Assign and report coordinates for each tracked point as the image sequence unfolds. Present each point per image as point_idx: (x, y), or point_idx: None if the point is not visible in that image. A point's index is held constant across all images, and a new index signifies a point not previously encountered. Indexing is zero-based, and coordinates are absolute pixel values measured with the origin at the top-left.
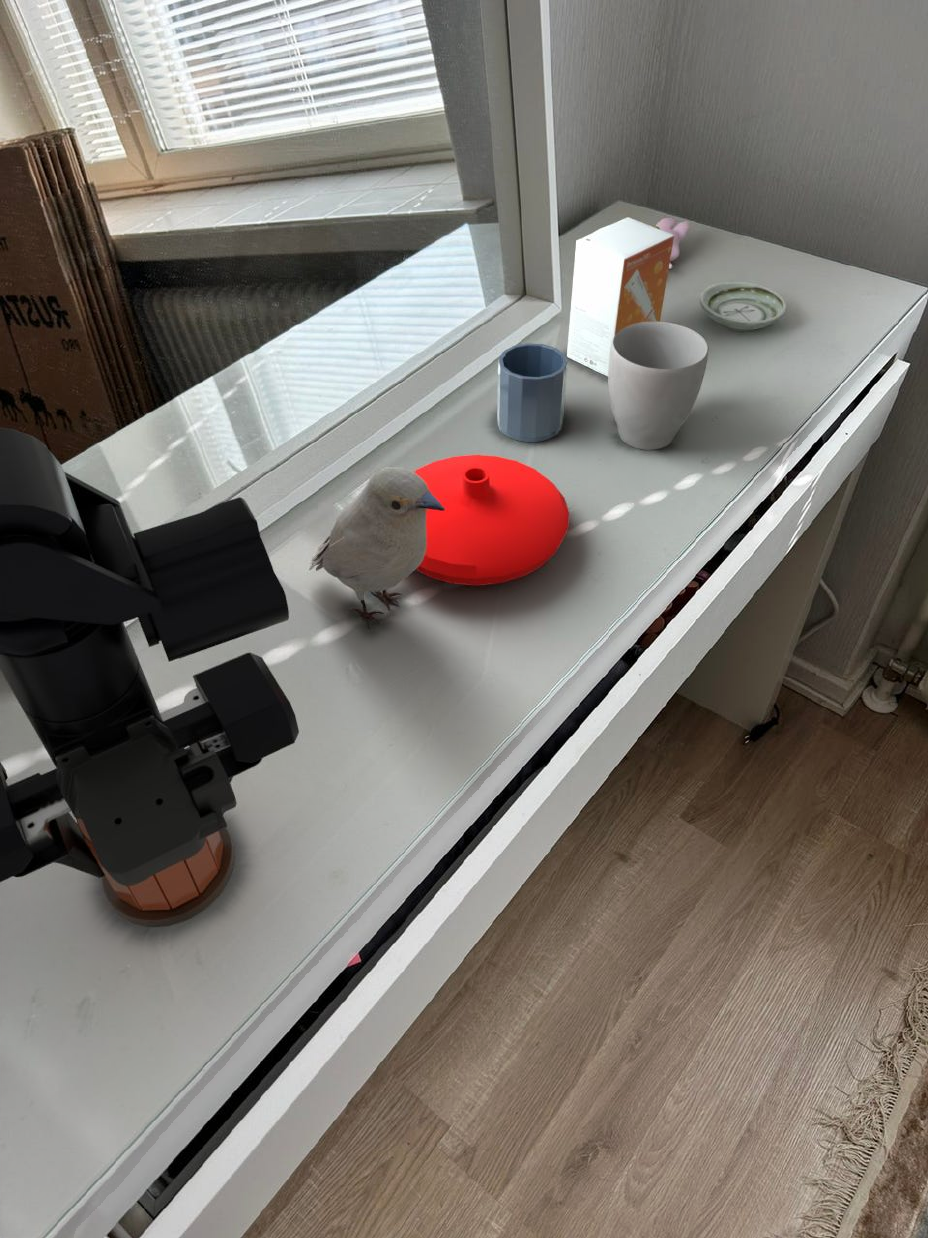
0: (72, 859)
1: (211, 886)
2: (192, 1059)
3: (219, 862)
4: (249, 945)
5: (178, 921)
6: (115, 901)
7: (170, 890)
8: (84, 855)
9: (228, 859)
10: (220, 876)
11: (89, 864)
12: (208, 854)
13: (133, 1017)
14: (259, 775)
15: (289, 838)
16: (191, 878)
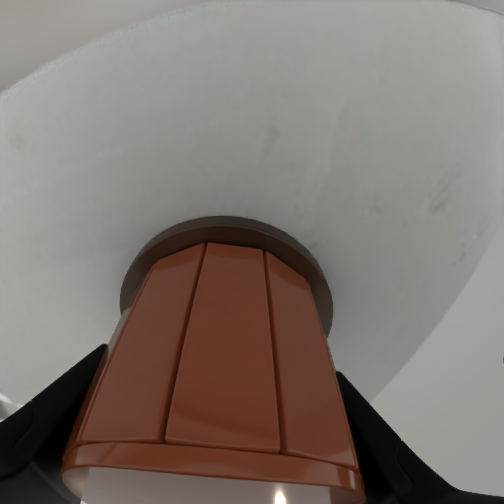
0: (400, 461)
1: (181, 243)
2: (368, 6)
3: (147, 273)
4: (181, 101)
5: (264, 224)
6: (326, 316)
7: (252, 282)
8: (376, 458)
9: (134, 269)
10: (159, 250)
11: (364, 422)
12: (141, 302)
13: (406, 131)
14: (68, 342)
15: (51, 240)
16: (199, 278)
